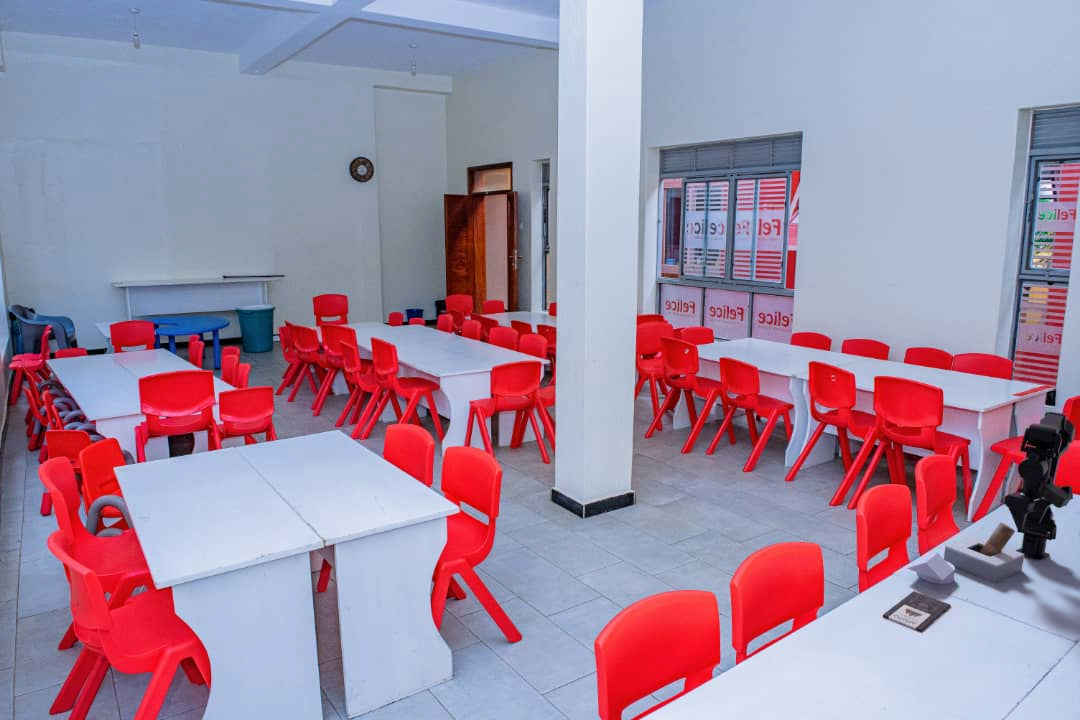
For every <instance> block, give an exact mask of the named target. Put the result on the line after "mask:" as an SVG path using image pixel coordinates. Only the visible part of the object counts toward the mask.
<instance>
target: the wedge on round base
mask: <svg viewBox="0 0 1080 720" xmlns="http://www.w3.org/2000/svg"><path fill="white" fill-rule="evenodd" d="M906 569H907V570H910V571H913V572H915V573H916V575H917V576H918V577H919V578H920V579H922V580H924V581H926V582H930V583H933V584H938V583H939V584H940V585H947V584H946V583H949V584H951V582H952V583H953V582H954V578H955V571H956V567H954V565H952V564H951V563H949V562H947V561H945V560H944V557H942V555H940V554H939V553H938V552H936V553H932V554H930V555H927V556H926V555H925V556H924V557H919V558H918V559H916V560H915V561H914V562H912V563H911V564H910V565H909V566H908V567H907V568H906Z"/></svg>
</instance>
